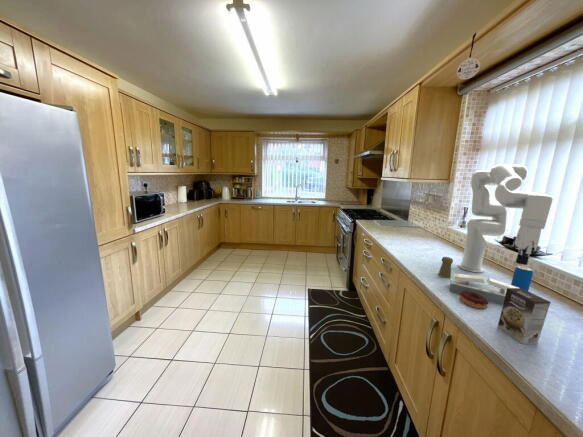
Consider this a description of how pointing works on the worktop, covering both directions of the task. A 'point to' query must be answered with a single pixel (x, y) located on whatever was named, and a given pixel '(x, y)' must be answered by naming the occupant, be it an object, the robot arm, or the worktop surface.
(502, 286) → the block
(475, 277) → the block
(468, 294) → the donut
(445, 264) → the cork
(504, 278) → the worktop surface
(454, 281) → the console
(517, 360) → the worktop surface
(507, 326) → the coffee box
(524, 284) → the beverage can
